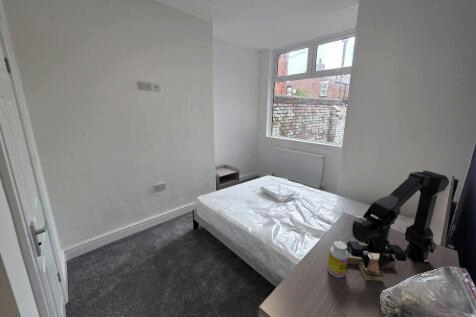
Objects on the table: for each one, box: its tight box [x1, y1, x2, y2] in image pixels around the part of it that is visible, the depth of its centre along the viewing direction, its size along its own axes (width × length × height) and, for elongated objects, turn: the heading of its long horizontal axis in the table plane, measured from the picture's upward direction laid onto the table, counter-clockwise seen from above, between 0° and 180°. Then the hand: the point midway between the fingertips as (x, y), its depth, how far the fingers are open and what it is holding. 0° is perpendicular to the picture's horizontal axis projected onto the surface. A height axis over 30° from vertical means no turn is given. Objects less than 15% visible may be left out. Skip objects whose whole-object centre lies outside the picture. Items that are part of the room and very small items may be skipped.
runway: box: [336, 237, 397, 269], centre depth 87 cm, size 19×10×5 cm, turn 81°
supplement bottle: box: [326, 240, 349, 278], centre depth 79 cm, size 7×7×13 cm
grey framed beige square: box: [358, 263, 384, 282], centre depth 79 cm, size 6×6×2 cm
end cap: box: [351, 218, 366, 228], centre depth 102 cm, size 10×7×7 cm
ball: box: [367, 259, 379, 272], centre depth 78 cm, size 4×4×4 cm
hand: (371, 268), depth 78 cm, fingers closed on ball, 4 cm apart
